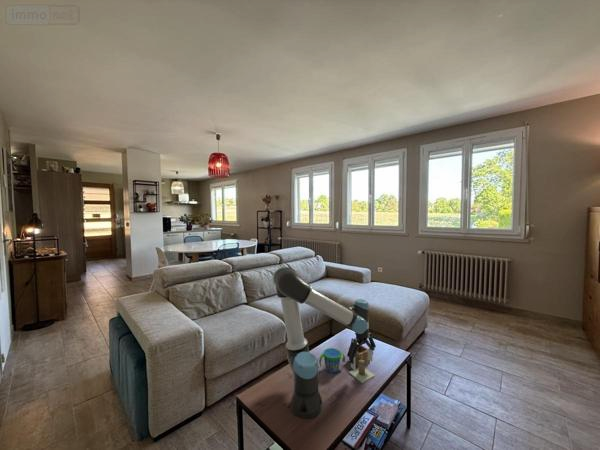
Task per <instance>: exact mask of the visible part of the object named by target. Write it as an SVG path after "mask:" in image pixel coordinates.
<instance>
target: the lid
mask: <svg viewBox="0 0 600 450" xmlns="http://www.w3.org/2000/svg"><path fill="white" fill-rule="evenodd" d="M348 373H349V375H351V377H353V378H354V379H356V380H357V381H358V382H360V383H361V384H363V383H366V382H367V381H369V380H372V379H374V378H375V377H376V375H375V374H374V373H372V372H371V371H369V369H367V368H366V365H365V361H364V360H359V367H357V368H355V370H354V369H353V370H350V371H349V372H348Z"/></svg>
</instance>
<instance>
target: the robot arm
mask: <svg viewBox="0 0 600 450" xmlns="http://www.w3.org/2000/svg"><path fill="white" fill-rule="evenodd" d="M272 278H273V279H272V280H273V283H274V285H275V290H276V296H277V298H279V299H280V300H281V301H280V302H281V309H282V314H283V320H284V324H285V331H286V337H287V341H286V343H285V352H286V353H285V356H286V359H287V361H288V364H289V366H290V369H291V371H292V375H293V393H292V396H291V399H290V408H291V411H292V413H293V414H294V415H295V416H297V417H299V418H303V419H311V418H314V417H317V416H318V415H319V414H320V413H321V412H322V409H323V400H322V399H323V398H322V397H321V396H322V395H321V393H320V390H319V359H318V358H317V357H316V355H315V354H313V353H311V352H310V349H309V348H310V347H309V344H308V343H309V342H308V339H307V338H305V336H304V330H303V323H302V319H301V312H300V305H299V304H306V305H308V306H309V307H311V308H313V309H314V310H316V311H318V312H320V313H322V314H324V315H325V316H328V317H329V318H331V319H333V320H335V321H337V322H339V323H341V324H343V325H344V326H345V327H347V328H350V329H351V330H352V332H354V335H355V338H354V337H352V338H351V339H350V340H351V341H350V345H349V347H348V351H347V353H346V354H347V355H346V356H347V357H348V359H349V358H350V361H349V362H350V368H352V369H353V370H355V369H356V365H355V355H356V353H357V351H358V349H359V347H360V346H361V345H362V346H364V345H365V344H366V346H367V347H368V348H367V349H368V360H370V363H371V362H373V356H374V351H375V348H377V346H376V343H375V340H374V338H373V334H372V333H371V332H369V330H370V329H369V327H370V326H369V323H370V322H369V319H370V317H369V316H370V315H369V314H370V313H369V312H370V311H369V310H370V308H369V306H370V305H369V302H368V300H366V299H362V298H361V299H360V298H358V299H356V300H354V304H349V305H341V304H340V303H338V302H337V301H334V300H333V299H331V298H329V297H327V296H326V295H324V294H323V293H321V292H318V291H317V290H315V289H313V288H312V286H311V284H309V283H308V282H306V281H304V279H302V278H301V276H299V275H298V273H296V272H295V270H294V269H293V268H291V267H288V266H282V267H279V268H278V269H277V270H275V271H274V274H273V277H272ZM358 344H359V345H358Z"/></svg>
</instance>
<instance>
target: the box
mask: <svg viewBox="0 0 600 450" xmlns="http://www.w3.org/2000/svg"><path fill="white" fill-rule="evenodd" d="M357 344H358V343H357ZM358 345H359V344H358ZM359 360H364V361H365V366H367V365H368V364H370V363H371V361H370V360H368V348H367V347H365V346H364V345H361V346H360V347H359V349H358V351H357V353H356V355H355V367H357V368H359ZM348 361H349V362H350V358H349V357H348Z"/></svg>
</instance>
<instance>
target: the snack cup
mask: <svg viewBox="0 0 600 450" xmlns="http://www.w3.org/2000/svg"><path fill="white" fill-rule="evenodd" d="M342 356H343V357H342ZM323 358H324V365H325V370H326V371H327V372H328V373H331V374H334V373H338V371H339V369H340V363H341V358H342V362H343V363H346V357H345V354H344V353H343V352H342V351H340V350H339V349H337V348H332V347H330V348H326V349H324V350H323V352H322V354H321V355H320V357H319V359H318V364H319V365H320V367H322V359H323Z"/></svg>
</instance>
